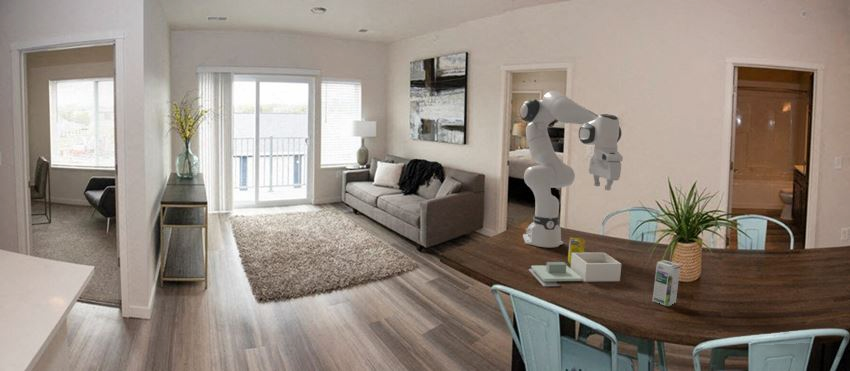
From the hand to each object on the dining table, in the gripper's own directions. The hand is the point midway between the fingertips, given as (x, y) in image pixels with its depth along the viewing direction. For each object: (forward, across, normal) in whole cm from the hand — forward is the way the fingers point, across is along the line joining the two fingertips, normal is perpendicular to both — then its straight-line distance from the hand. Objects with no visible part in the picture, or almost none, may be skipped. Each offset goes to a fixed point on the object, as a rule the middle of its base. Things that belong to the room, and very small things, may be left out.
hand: (602, 188), depth 198 cm
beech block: (+33, +10, -4) cm, 35 cm away
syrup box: (+34, +37, +8) cm, 51 cm away
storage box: (+34, +12, -6) cm, 37 cm away
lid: (+33, +12, -22) cm, 41 cm away
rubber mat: (+34, +12, -22) cm, 42 cm away
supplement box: (+34, -4, -7) cm, 35 cm away
